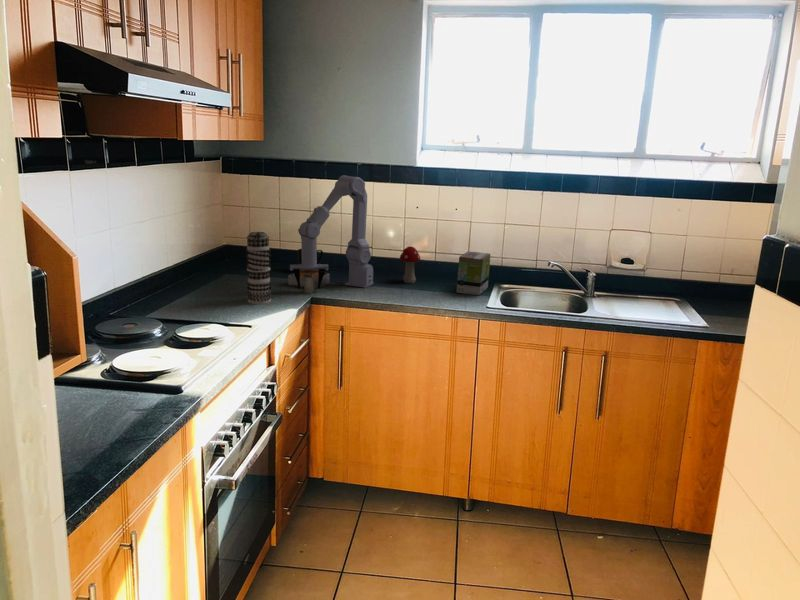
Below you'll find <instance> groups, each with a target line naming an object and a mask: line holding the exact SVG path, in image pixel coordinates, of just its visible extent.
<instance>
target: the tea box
mask: <svg viewBox="0 0 800 600" xmlns="http://www.w3.org/2000/svg"><path fill="white" fill-rule="evenodd" d="M490 263H491V253H489V252H477V251H469V250H468V251H466V252H464V253H463V254H461V255H460V256H459V258H458V269H457V279H456V280H457V283H456V293H459V294H464V295H472V296H473V295H474V296H480V295H481V294H483V293H484V291H486V290H487V288H488V287H489V280H490V278H489V277H490V268H491V267H490V266H491V264H490Z"/></svg>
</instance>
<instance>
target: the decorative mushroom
mask: <svg viewBox="0 0 800 600" xmlns="http://www.w3.org/2000/svg"><path fill="white" fill-rule="evenodd" d="M399 260H400V261H402V262H403V263H405V268H404V275H403V277H402V279H403V282H404V283H405V284H414V283H416V281H417V278H416V275H415V264H416V263H418V262H421V255H420V253H419V252H418V250H417V249H416V248H415V247H414V246H410V245H409V246H407V247H405V248H404V249H403V250H402V252H401V254H400V256H399Z"/></svg>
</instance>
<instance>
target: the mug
mask: <svg viewBox="0 0 800 600" xmlns="http://www.w3.org/2000/svg"><path fill="white" fill-rule="evenodd" d="M318 252H320V254H319V257H318V258H317V259H318V260H317V264H320V261H321V260H322V257H323V254H324V251H323V249H317V253H318ZM297 262H298V264H302V248H299V249H297Z"/></svg>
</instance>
